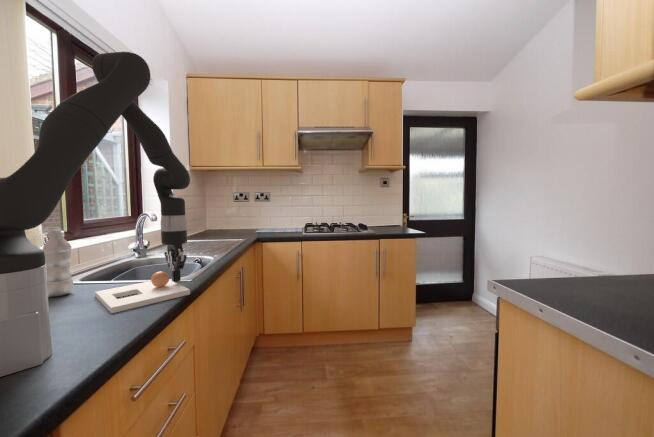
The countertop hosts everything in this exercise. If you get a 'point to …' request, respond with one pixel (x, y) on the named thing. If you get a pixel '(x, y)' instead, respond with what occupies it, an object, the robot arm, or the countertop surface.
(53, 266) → the plastic bottle
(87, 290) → the countertop surface
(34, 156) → the robot arm
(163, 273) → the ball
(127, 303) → the white square board
